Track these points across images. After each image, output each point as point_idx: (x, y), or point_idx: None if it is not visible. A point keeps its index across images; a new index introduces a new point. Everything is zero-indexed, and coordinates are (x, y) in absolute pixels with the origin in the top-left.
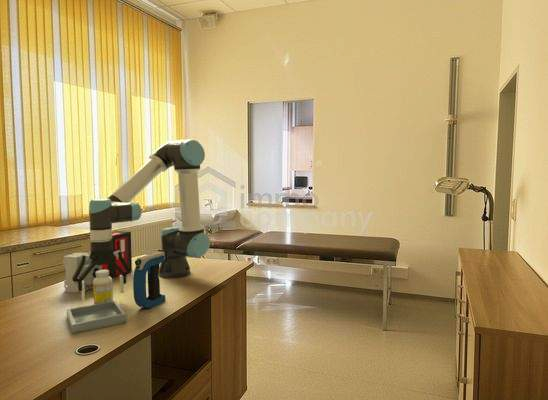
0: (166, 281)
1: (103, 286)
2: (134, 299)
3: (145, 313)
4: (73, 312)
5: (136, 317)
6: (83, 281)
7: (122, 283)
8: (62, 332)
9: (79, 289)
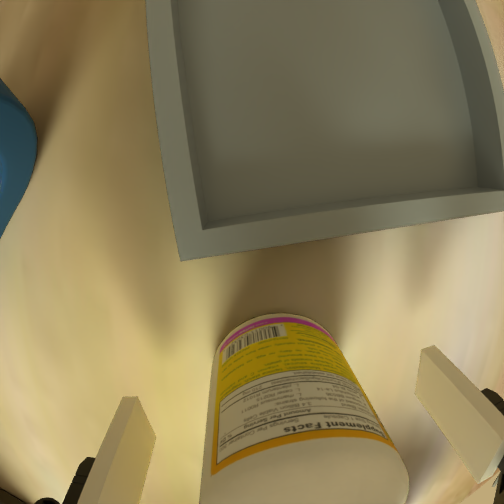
0: (18, 483)
1: (307, 418)
2: (22, 105)
3: (32, 65)
4: (476, 189)
5: (87, 13)
6: (492, 461)
7: (105, 457)
8: None
9: (492, 395)
